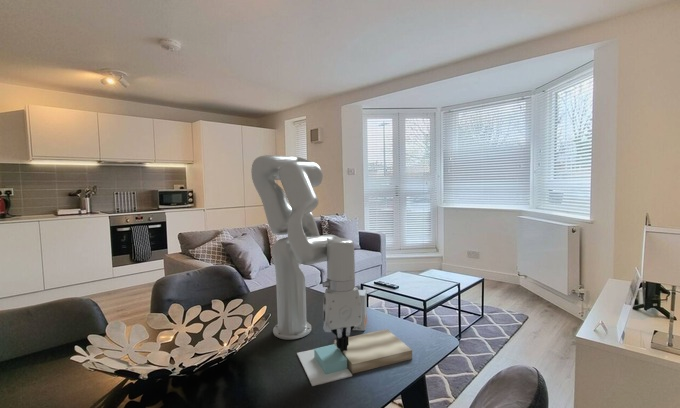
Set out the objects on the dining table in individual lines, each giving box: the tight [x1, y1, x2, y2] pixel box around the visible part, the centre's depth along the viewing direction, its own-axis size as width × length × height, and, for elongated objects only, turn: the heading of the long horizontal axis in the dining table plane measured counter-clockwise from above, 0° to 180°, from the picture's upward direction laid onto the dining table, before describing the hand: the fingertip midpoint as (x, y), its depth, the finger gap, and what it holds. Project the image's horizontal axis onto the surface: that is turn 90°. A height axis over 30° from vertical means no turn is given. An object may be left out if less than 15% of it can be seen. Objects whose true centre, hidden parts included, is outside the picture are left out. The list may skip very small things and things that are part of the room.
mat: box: [296, 348, 353, 387], centre depth 88 cm, size 16×10×1 cm, turn 21°
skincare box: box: [352, 289, 368, 332], centre depth 110 cm, size 6×4×12 cm
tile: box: [313, 343, 348, 374], centre depth 88 cm, size 9×6×2 cm, turn 23°
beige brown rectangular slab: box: [333, 329, 413, 375], centre depth 93 cm, size 14×18×2 cm
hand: (342, 348), depth 90 cm, fingers closed
